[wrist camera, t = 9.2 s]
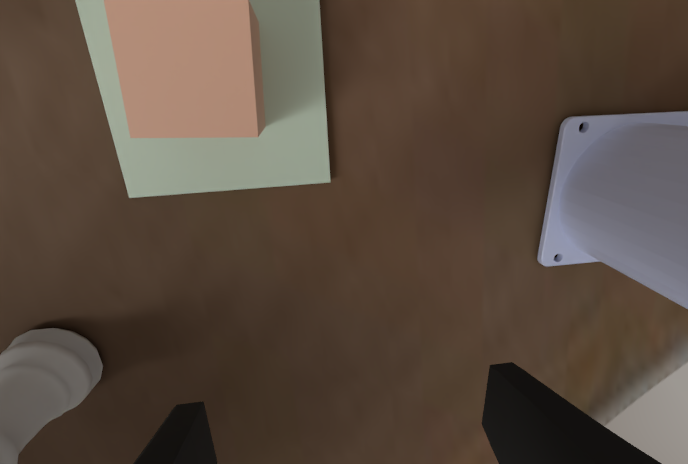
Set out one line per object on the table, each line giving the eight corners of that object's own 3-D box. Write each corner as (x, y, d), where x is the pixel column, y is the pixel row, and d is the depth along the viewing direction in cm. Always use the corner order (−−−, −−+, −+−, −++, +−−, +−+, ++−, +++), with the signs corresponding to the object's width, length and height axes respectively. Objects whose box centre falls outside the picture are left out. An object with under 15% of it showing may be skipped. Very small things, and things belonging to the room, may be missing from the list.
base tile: (314, -40, 15) (316, -50, 14) (328, 176, 18) (330, 182, 17) (80, -37, 14) (62, -48, 13) (139, 191, 17) (129, 197, 16)
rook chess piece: (0, 375, 19) (-185, 556, 12) (26, 309, 18) (-160, 462, 11) (90, 401, 20) (-25, 579, 13) (119, 341, 19) (12, 498, 12)
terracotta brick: (258, 22, 14) (248, -2, 11) (265, 126, 16) (258, 137, 12) (152, 18, 14) (102, -8, 10) (168, 126, 15) (130, 138, 12)
